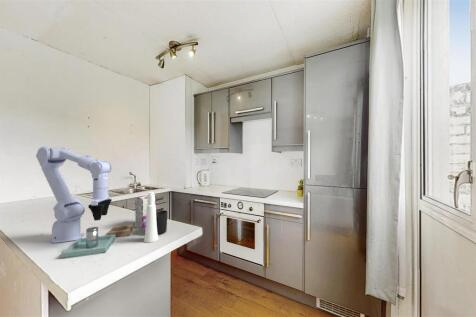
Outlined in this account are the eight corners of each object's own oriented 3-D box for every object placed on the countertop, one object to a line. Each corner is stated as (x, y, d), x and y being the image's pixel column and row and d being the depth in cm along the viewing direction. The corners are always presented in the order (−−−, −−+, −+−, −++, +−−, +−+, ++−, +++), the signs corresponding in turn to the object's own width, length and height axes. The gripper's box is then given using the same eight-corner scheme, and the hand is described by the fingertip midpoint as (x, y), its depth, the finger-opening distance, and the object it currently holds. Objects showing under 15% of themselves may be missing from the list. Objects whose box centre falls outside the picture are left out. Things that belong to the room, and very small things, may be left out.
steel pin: (84, 249, 77) (85, 230, 77) (87, 245, 81) (87, 227, 81) (96, 247, 79) (97, 229, 79) (99, 243, 83) (99, 226, 83)
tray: (61, 258, 71) (61, 253, 71) (79, 242, 84) (79, 238, 84) (105, 252, 76) (105, 247, 76) (115, 238, 89) (115, 234, 89)
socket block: (107, 238, 89) (107, 233, 89) (113, 231, 98) (113, 226, 98) (129, 235, 92) (129, 230, 92) (133, 229, 100) (133, 224, 100)
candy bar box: (148, 221, 113) (148, 194, 112) (156, 222, 112) (156, 194, 111) (134, 228, 102) (134, 197, 102) (142, 229, 101) (142, 198, 101)
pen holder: (160, 236, 91) (160, 215, 91) (143, 235, 93) (142, 214, 93) (170, 229, 100) (170, 210, 100) (155, 228, 102) (155, 209, 102)
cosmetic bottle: (143, 243, 83) (143, 193, 83) (144, 238, 89) (144, 191, 89) (158, 241, 86) (158, 192, 86) (158, 236, 91) (158, 190, 91)
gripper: (105, 190, 81) (105, 221, 82) (115, 185, 95) (115, 212, 95) (85, 190, 79) (85, 223, 79) (99, 186, 93) (99, 213, 93)
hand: (100, 217), depth 87 cm, fingers open, 7 cm apart
